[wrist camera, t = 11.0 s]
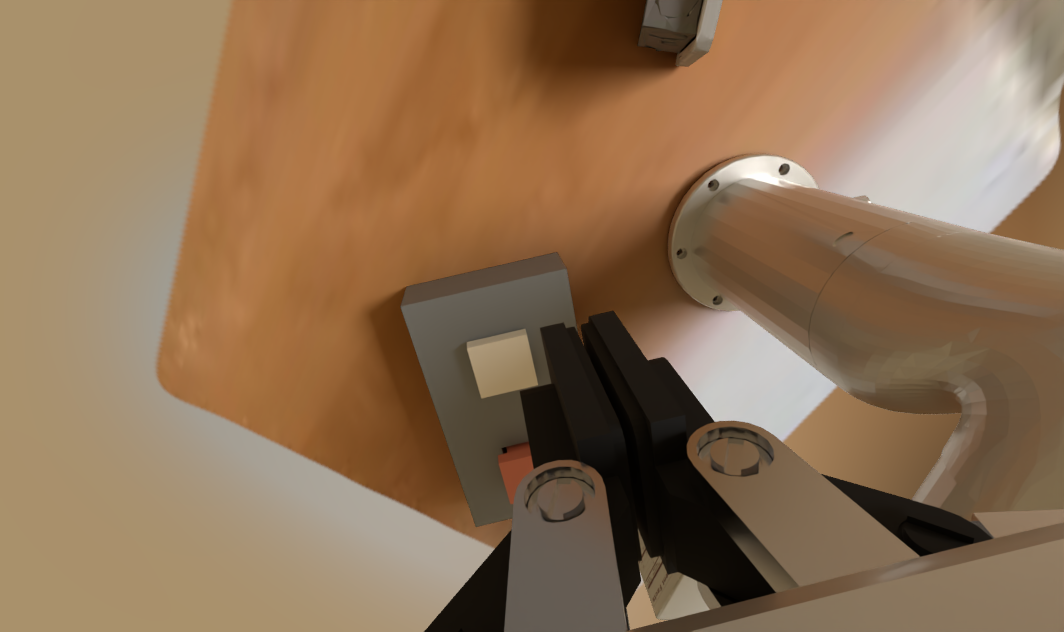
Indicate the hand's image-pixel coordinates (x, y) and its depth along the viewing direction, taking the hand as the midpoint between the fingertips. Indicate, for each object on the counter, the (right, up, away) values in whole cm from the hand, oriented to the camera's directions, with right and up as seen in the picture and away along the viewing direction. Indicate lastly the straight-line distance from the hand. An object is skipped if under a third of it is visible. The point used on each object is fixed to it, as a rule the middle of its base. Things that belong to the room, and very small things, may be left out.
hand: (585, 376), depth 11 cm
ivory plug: (-4, -1, +28) cm, 29 cm away
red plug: (-2, -10, +32) cm, 33 cm away
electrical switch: (+7, +23, +21) cm, 32 cm away
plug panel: (-3, -5, +32) cm, 32 cm away
